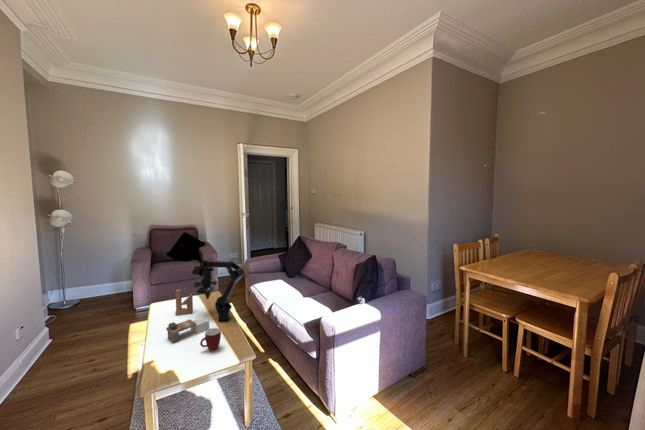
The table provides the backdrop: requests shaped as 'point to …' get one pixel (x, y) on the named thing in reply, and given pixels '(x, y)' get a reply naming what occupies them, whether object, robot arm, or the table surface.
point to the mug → (212, 339)
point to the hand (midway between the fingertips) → (207, 298)
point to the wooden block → (179, 304)
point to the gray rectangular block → (200, 326)
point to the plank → (180, 326)
